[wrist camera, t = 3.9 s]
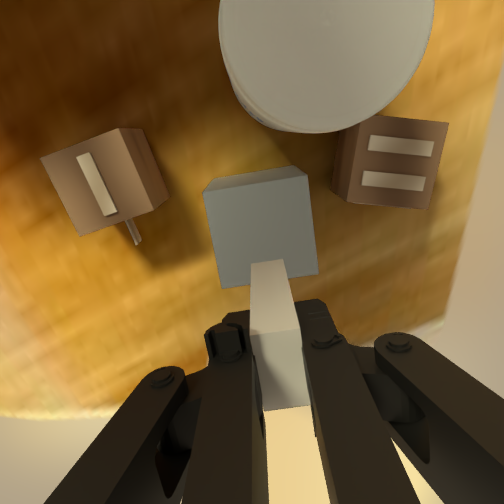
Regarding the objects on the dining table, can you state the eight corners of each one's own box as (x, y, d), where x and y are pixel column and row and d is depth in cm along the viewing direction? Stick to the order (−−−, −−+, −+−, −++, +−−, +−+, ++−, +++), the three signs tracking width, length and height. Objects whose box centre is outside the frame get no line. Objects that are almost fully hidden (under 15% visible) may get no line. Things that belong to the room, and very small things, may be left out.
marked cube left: (119, 242, 34) (92, 265, 28) (77, 153, 32) (38, 158, 26) (180, 220, 34) (165, 239, 28) (142, 128, 31) (117, 127, 25)
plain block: (228, 254, 35) (222, 288, 27) (213, 178, 32) (202, 192, 25) (303, 242, 34) (319, 274, 27) (293, 164, 32) (307, 175, 25)
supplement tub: (205, 55, 30) (164, -16, 15) (305, -31, 28) (361, -196, 14) (277, 156, 32) (298, 175, 18) (373, 84, 30) (479, 41, 16)
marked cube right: (329, 192, 33) (346, 205, 27) (341, 117, 31) (362, 113, 25) (396, 198, 33) (428, 213, 27) (412, 124, 31) (450, 122, 25)
